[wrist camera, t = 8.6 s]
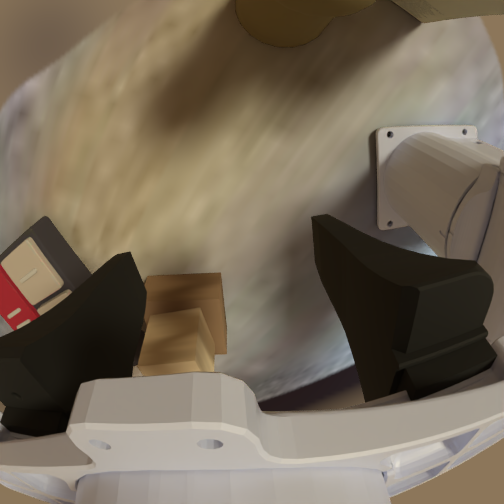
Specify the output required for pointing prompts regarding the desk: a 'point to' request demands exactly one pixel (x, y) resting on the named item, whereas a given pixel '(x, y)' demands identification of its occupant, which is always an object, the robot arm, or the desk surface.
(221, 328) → the walnut base
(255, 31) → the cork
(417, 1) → the box
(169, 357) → the beech block
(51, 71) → the desk surface
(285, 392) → the desk surface
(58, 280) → the calculator
